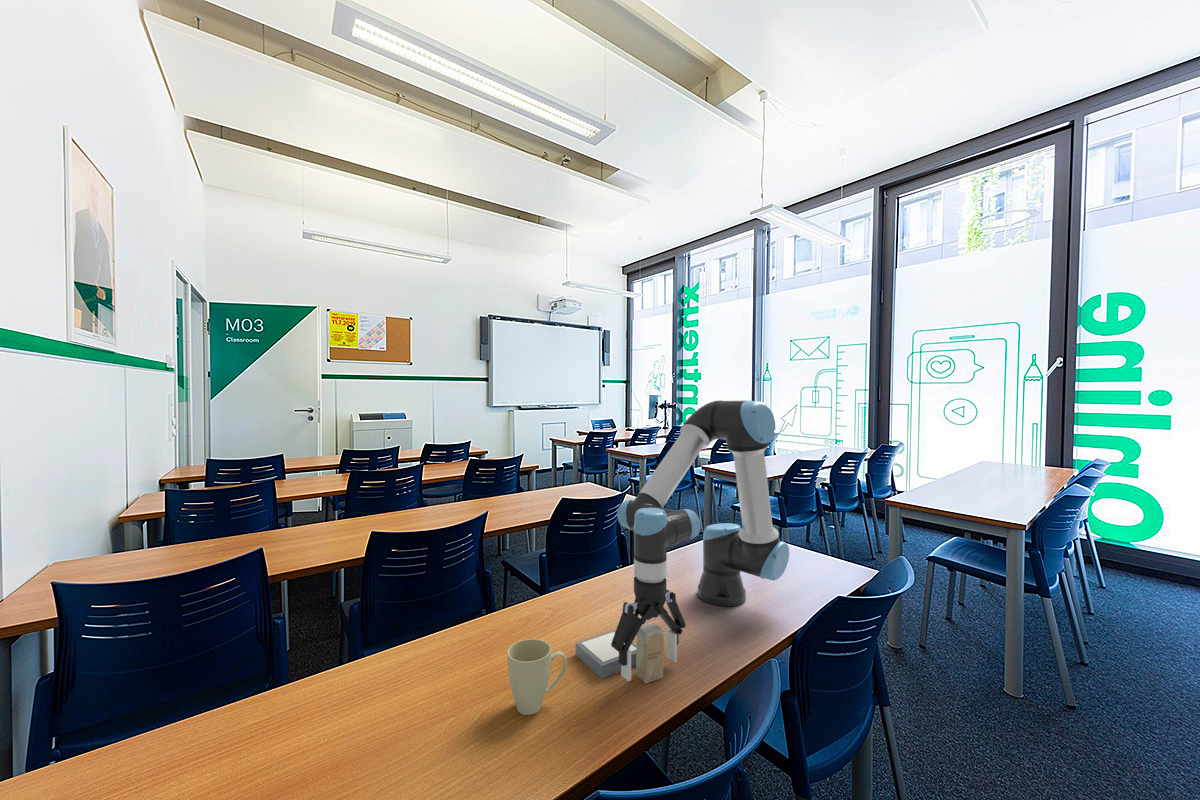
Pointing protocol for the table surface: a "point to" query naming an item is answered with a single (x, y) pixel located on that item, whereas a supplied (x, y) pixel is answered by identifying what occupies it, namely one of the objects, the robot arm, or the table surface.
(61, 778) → the table surface
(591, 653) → the pedestal
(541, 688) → the mug
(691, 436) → the robot arm
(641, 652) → the box
